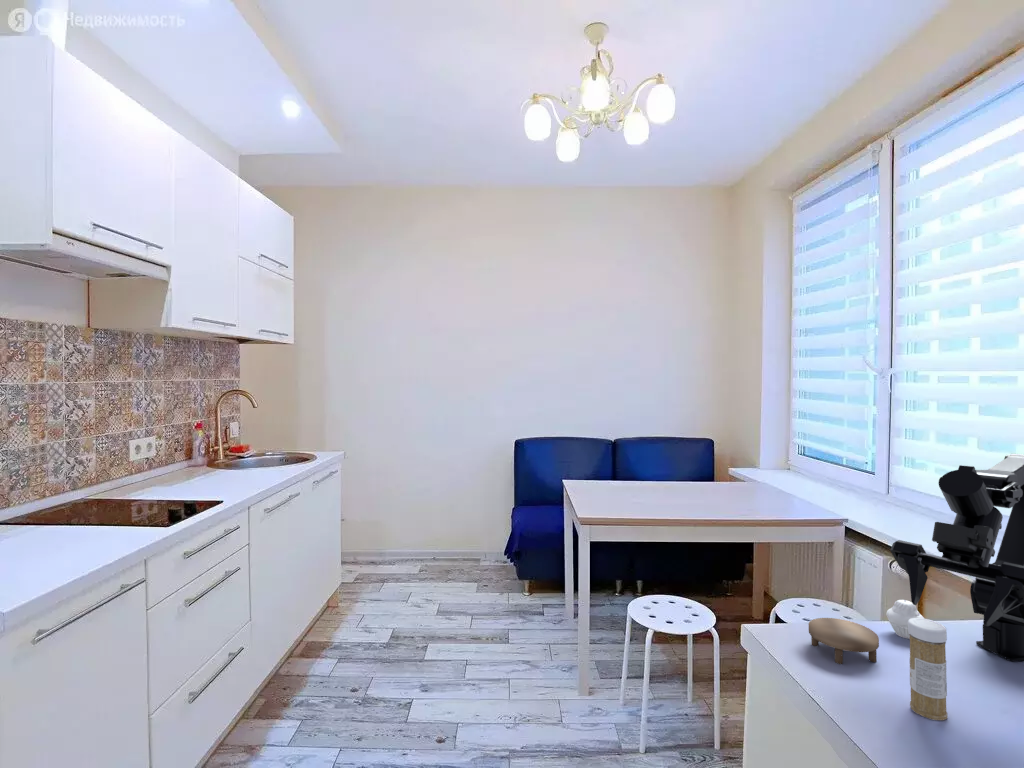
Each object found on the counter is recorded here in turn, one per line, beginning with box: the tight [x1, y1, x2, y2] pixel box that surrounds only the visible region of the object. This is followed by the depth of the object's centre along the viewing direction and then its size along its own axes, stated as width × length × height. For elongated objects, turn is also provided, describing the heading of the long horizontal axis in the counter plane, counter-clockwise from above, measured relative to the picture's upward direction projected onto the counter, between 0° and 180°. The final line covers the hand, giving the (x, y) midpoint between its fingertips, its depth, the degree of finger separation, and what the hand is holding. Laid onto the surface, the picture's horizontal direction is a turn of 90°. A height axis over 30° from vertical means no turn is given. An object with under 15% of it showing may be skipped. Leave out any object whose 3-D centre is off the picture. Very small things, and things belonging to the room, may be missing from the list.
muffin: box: [886, 599, 924, 640], centre depth 102 cm, size 6×6×7 cm
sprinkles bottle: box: [908, 617, 949, 721], centre depth 78 cm, size 5×5×13 cm
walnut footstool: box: [808, 617, 880, 665], centre depth 96 cm, size 11×11×4 cm
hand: (947, 613), depth 82 cm, fingers open, 9 cm apart
